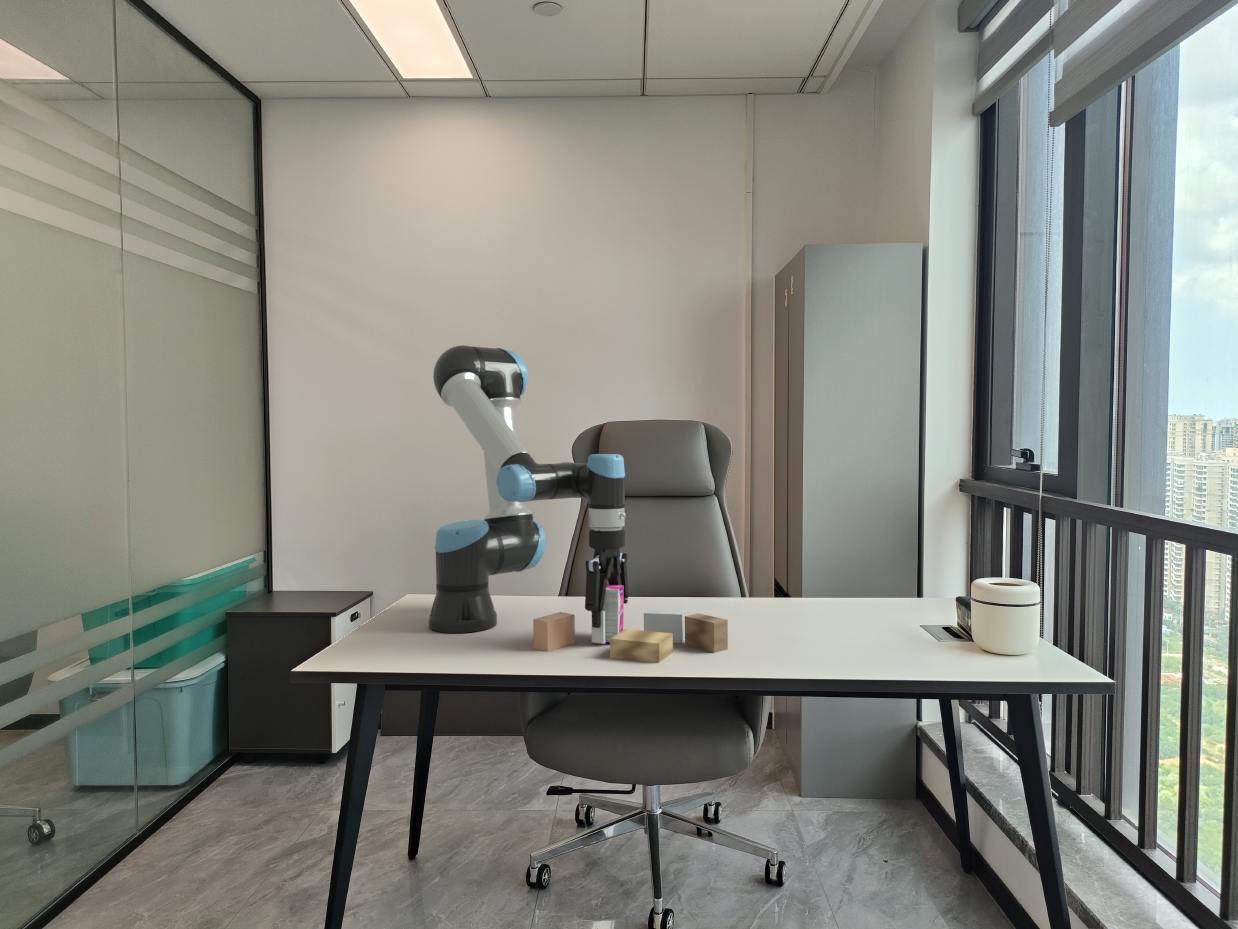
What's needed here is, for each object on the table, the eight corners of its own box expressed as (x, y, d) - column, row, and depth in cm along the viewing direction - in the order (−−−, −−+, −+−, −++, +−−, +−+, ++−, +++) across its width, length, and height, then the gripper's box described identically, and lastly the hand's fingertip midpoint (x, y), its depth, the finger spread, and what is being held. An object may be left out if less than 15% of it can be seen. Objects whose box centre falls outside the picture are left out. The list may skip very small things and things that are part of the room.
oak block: (610, 659, 150) (610, 638, 150) (625, 648, 157) (625, 629, 157) (659, 664, 146) (659, 643, 146) (672, 653, 153) (672, 633, 153)
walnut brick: (684, 645, 159) (684, 616, 158) (698, 642, 161) (698, 613, 161) (714, 653, 152) (714, 623, 152) (727, 649, 155) (727, 619, 155)
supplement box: (618, 645, 159) (618, 589, 158) (590, 644, 160) (590, 588, 160) (624, 638, 164) (624, 584, 164) (597, 637, 166) (596, 583, 165)
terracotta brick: (547, 651, 155) (547, 621, 154) (533, 648, 157) (533, 619, 157) (574, 643, 161) (574, 614, 161) (560, 640, 163) (560, 612, 163)
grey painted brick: (643, 641, 162) (643, 613, 162) (647, 637, 166) (647, 609, 165) (682, 643, 160) (682, 614, 160) (684, 638, 164) (684, 610, 164)
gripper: (598, 534, 151) (599, 652, 152) (644, 524, 168) (645, 630, 169) (565, 532, 155) (566, 647, 155) (614, 523, 172) (615, 626, 173)
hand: (607, 638), depth 162 cm, fingers closed on supplement box, 7 cm apart
